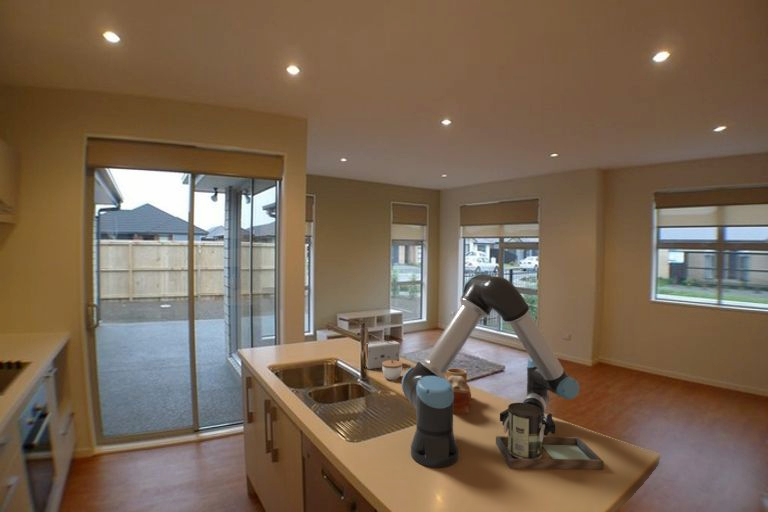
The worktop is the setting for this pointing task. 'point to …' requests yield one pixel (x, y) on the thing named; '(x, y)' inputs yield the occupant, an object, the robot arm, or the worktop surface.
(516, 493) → the worktop surface
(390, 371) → the lidded jar
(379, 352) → the stereo radio cassette player
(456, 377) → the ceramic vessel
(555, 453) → the pad
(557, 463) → the wooden serving tray
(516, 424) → the coffee can
